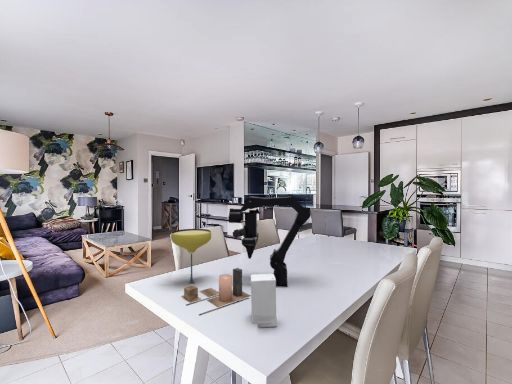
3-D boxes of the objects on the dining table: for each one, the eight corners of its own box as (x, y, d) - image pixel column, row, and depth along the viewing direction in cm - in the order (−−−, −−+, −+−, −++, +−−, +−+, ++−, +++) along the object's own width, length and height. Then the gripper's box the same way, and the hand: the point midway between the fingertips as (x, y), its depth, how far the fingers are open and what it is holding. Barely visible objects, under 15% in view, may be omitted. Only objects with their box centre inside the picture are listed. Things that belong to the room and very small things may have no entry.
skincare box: (274, 317, 91) (274, 273, 91) (277, 328, 84) (277, 279, 84) (250, 318, 91) (250, 273, 91) (251, 328, 84) (251, 280, 84)
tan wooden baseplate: (239, 292, 113) (239, 265, 112) (251, 298, 106) (251, 269, 106) (206, 302, 102) (206, 273, 102) (217, 309, 96) (217, 278, 96)
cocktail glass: (170, 281, 127) (170, 229, 126) (207, 277, 133) (207, 227, 133) (172, 295, 110) (172, 236, 109) (215, 289, 116) (214, 233, 116)
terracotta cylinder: (232, 296, 105) (232, 274, 105) (230, 302, 100) (230, 278, 100) (220, 296, 106) (220, 274, 106) (217, 301, 101) (217, 278, 101)
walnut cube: (193, 294, 107) (193, 285, 107) (197, 297, 104) (197, 287, 104) (184, 297, 105) (184, 287, 105) (188, 300, 102) (188, 290, 102)
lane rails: (233, 293, 112) (233, 290, 112) (249, 301, 104) (249, 298, 104) (185, 308, 98) (185, 304, 98) (199, 319, 90) (199, 315, 90)
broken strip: (211, 290, 115) (211, 287, 115) (221, 296, 109) (221, 293, 109) (180, 299, 106) (180, 296, 106) (189, 306, 100) (189, 302, 100)
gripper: (236, 220, 134) (236, 251, 134) (230, 225, 115) (230, 261, 115) (258, 220, 133) (258, 251, 133) (255, 225, 114) (255, 261, 114)
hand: (250, 256), depth 124 cm, fingers open, 9 cm apart
